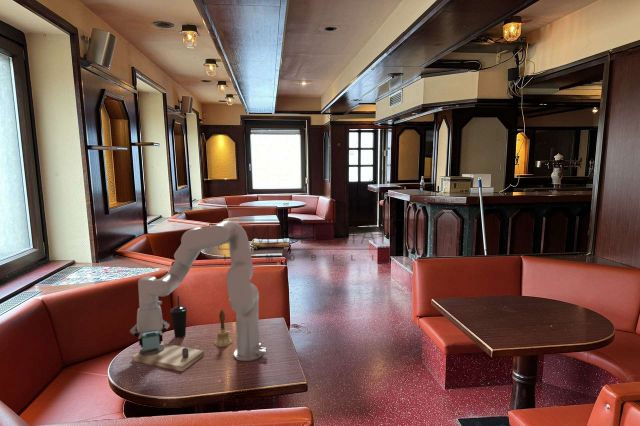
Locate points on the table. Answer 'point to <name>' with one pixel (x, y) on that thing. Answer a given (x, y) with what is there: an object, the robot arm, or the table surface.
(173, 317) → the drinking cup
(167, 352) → the base board
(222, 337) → the hand bell
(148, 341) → the collar
